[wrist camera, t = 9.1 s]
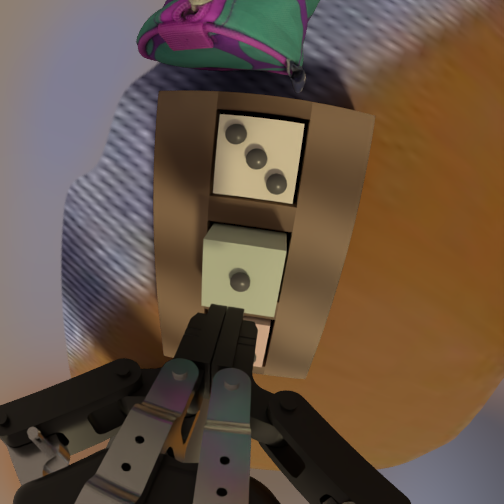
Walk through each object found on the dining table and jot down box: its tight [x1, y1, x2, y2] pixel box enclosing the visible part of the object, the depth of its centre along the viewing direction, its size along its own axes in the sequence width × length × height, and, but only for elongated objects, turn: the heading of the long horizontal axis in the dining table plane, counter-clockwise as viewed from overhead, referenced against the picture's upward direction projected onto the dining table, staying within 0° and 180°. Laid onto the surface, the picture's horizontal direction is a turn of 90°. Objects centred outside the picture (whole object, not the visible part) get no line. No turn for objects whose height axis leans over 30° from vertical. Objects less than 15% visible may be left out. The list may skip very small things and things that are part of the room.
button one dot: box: [201, 223, 287, 317], centre depth 17 cm, size 4×4×3 cm
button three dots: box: [213, 114, 304, 204], centre depth 16 cm, size 4×4×3 cm
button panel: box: [153, 91, 375, 379], centre depth 20 cm, size 20×12×4 cm, turn 173°
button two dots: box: [243, 315, 271, 367], centre depth 21 cm, size 4×4×3 cm
